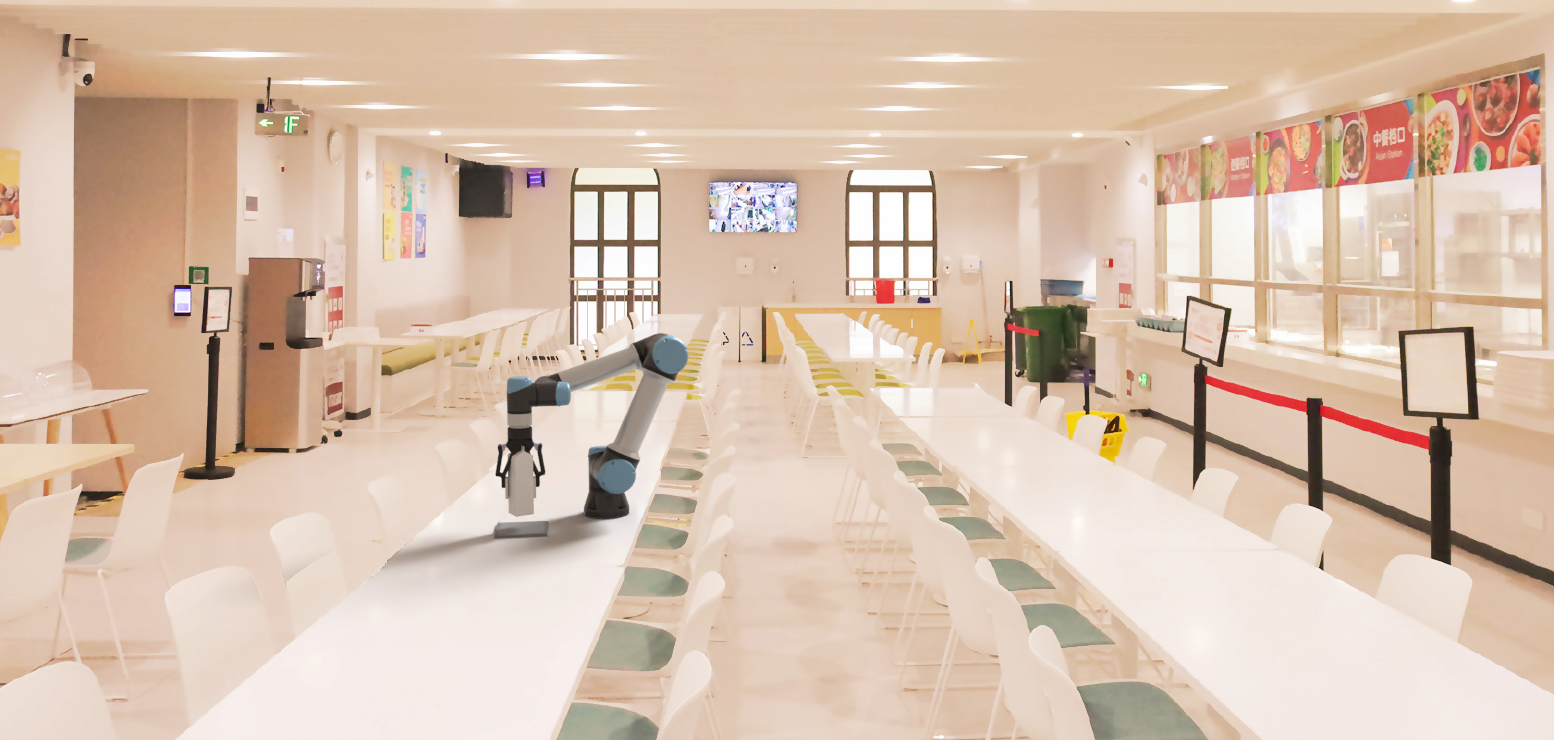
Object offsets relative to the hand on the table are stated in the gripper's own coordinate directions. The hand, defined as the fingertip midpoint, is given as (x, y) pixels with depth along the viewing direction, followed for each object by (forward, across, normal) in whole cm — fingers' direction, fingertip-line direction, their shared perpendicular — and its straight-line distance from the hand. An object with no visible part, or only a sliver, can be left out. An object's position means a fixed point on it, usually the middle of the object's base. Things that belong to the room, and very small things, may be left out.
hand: (521, 497), depth 341 cm
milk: (+5, 0, 0) cm, 5 cm away
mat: (+11, 0, 0) cm, 11 cm away
